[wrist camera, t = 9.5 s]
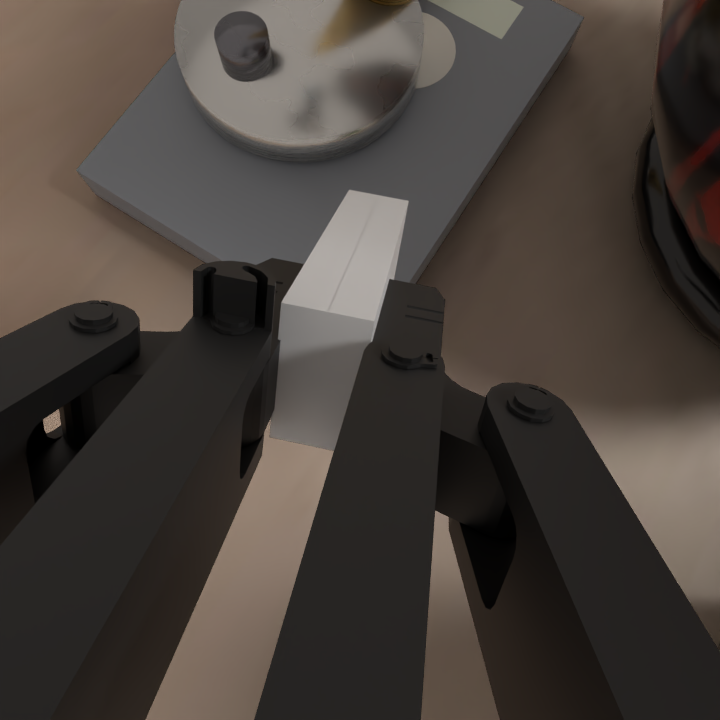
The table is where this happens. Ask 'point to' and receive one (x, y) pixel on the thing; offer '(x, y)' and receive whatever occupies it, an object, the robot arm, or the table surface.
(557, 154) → the table surface
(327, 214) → the grey crank mechanism
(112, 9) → the table surface
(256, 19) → the lever
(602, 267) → the table surface
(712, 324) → the brown glazed vase
